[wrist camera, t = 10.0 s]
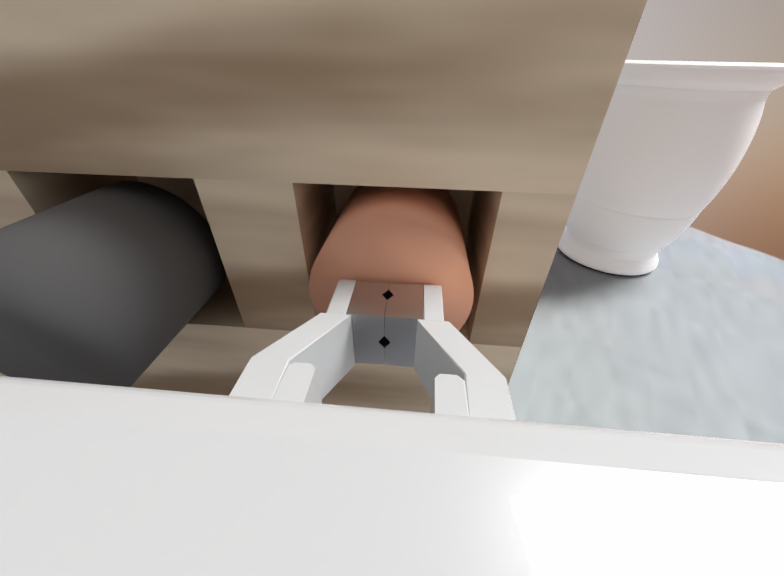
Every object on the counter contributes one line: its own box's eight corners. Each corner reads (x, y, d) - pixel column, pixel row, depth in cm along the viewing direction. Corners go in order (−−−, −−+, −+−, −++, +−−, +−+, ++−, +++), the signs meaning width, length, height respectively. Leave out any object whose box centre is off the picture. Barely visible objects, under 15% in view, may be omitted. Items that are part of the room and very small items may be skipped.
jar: (695, 268, 28) (835, 63, 20) (618, 297, 25) (747, 62, 16) (591, 222, 36) (657, 60, 27) (521, 239, 33) (572, 59, 24)
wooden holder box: (490, 431, 16) (706, -165, 5) (-26, 386, 18) (-651, -131, 7) (469, 304, 24) (536, -31, 13) (116, 282, 26) (-74, -31, 15)
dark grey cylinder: (163, 406, 9) (64, 262, 7) (8, 392, 10) (-154, 249, 7) (241, 301, 14) (201, 183, 11) (130, 294, 14) (61, 177, 11)
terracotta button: (461, 360, 11) (488, 228, 8) (319, 349, 11) (296, 218, 8) (451, 279, 15) (467, 171, 12) (347, 272, 15) (338, 165, 12)
